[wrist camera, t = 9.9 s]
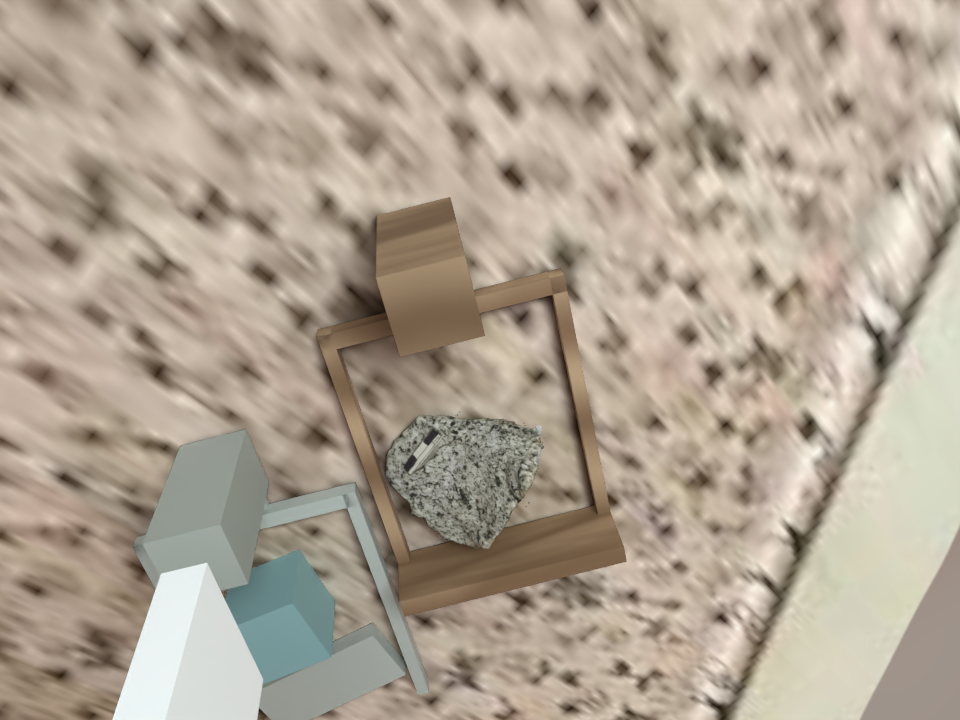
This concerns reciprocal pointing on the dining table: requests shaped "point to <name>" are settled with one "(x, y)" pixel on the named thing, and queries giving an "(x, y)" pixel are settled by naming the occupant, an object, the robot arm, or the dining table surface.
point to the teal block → (284, 616)
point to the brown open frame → (443, 321)
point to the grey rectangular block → (334, 677)
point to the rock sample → (464, 473)
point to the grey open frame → (248, 524)
